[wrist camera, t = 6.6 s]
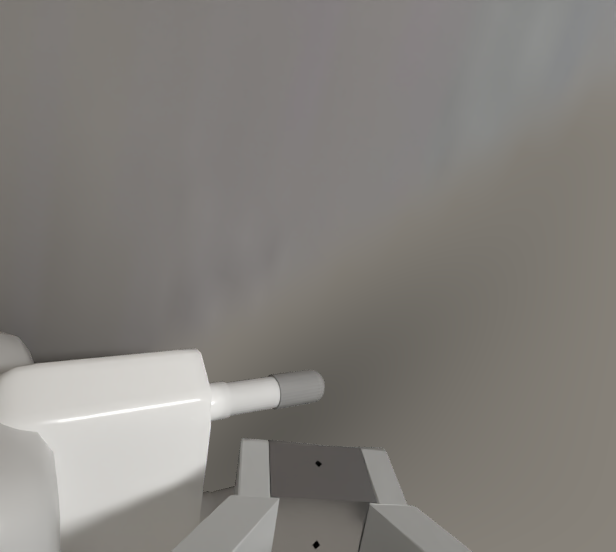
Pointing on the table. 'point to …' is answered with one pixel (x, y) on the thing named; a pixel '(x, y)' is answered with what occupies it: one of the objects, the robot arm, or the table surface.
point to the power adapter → (116, 446)
